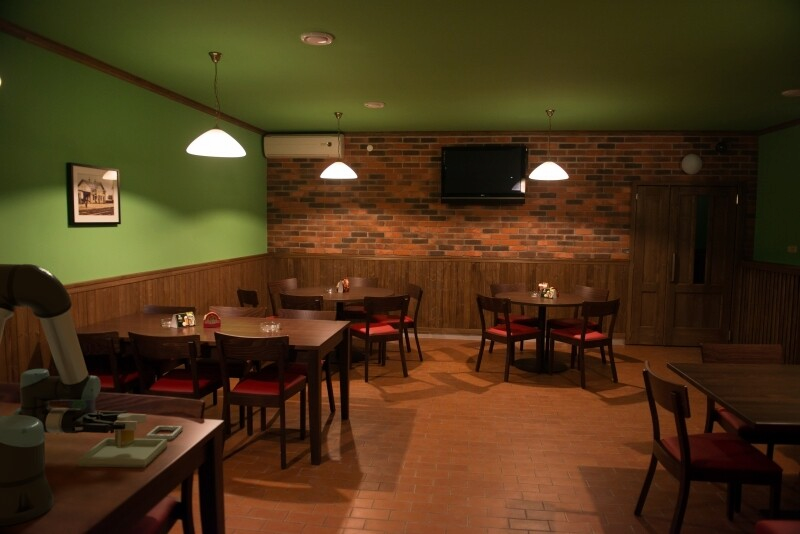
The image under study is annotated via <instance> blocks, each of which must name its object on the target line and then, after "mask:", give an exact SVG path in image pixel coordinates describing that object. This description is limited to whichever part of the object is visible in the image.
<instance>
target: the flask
mask: <svg viewBox="0 0 800 534" xmlns="http://www.w3.org/2000/svg"><path fill="white" fill-rule="evenodd" d="M70 408H77V409H82V410H83V411H84V412H85V413H86V414H88V413H96V398H95V399H93V400H83V401H68V409H70Z"/></svg>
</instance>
